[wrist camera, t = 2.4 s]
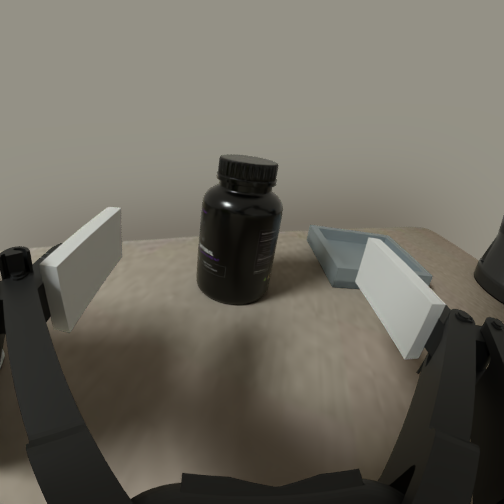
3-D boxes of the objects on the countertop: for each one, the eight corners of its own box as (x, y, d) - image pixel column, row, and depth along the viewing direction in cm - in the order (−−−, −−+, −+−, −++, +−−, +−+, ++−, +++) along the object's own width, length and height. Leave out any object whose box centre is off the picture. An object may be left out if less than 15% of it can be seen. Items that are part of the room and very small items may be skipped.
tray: (384, 249, 44) (388, 235, 43) (426, 292, 32) (432, 276, 32) (306, 239, 43) (310, 224, 42) (332, 287, 31) (337, 267, 30)
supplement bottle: (181, 290, 27) (189, 154, 22) (218, 263, 33) (230, 150, 28) (250, 317, 25) (273, 169, 20) (277, 283, 31) (299, 163, 26)
